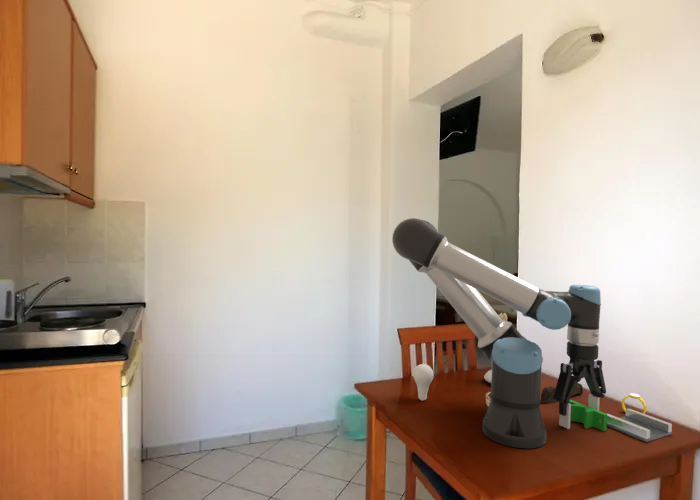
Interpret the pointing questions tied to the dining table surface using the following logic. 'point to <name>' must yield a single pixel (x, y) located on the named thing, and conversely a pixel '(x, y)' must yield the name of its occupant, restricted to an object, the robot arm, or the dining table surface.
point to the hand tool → (549, 391)
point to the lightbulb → (423, 379)
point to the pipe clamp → (588, 416)
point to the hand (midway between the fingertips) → (579, 423)
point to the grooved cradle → (640, 425)
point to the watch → (634, 398)
